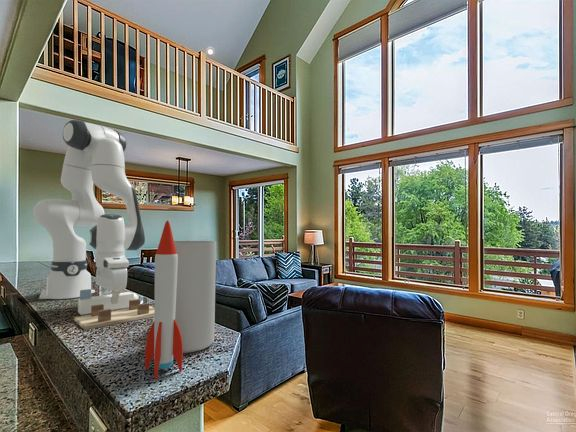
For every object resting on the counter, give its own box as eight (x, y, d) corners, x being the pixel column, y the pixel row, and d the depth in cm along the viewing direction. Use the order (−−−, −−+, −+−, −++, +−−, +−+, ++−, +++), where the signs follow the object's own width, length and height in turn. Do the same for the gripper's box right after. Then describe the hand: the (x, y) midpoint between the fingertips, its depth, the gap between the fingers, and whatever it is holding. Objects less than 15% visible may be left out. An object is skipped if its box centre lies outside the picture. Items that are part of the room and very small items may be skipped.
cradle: (74, 320, 95) (74, 307, 96) (148, 308, 111) (148, 296, 111) (84, 329, 87) (84, 315, 87) (163, 314, 103) (163, 302, 103)
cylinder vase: (213, 333, 85) (214, 240, 86) (215, 351, 73) (217, 243, 74) (163, 337, 82) (166, 240, 83) (157, 356, 70) (160, 243, 71)
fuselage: (77, 312, 105) (78, 289, 105) (135, 303, 118) (136, 282, 118) (81, 314, 102) (82, 291, 102) (140, 305, 115) (140, 284, 115)
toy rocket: (182, 371, 63) (187, 220, 64) (154, 380, 59) (160, 220, 60) (171, 362, 67) (176, 221, 68) (143, 370, 63) (149, 220, 64)
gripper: (91, 259, 115) (90, 298, 114) (110, 263, 101) (109, 307, 100) (110, 258, 119) (109, 295, 119) (131, 262, 105) (130, 304, 104)
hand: (109, 301), depth 109 cm, fingers open, 8 cm apart
